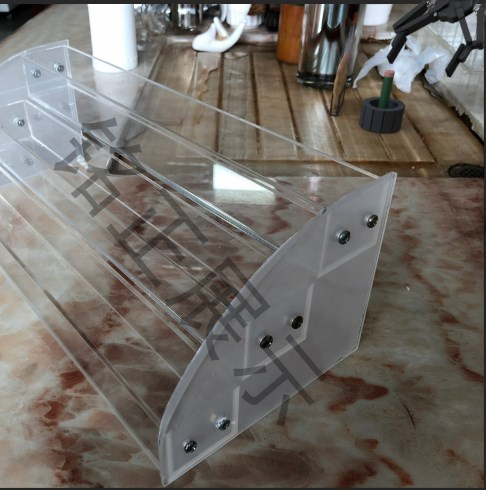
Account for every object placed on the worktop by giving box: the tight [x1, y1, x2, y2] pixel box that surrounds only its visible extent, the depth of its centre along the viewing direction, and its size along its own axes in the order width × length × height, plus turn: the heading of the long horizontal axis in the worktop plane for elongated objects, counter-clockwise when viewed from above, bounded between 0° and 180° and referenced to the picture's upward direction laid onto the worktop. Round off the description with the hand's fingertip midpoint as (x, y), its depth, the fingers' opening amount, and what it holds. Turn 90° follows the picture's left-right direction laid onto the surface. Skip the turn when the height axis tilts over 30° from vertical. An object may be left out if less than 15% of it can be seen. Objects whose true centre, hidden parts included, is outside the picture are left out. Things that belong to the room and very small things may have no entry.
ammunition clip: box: [328, 50, 349, 117], centre depth 136 cm, size 11×2×12 cm, turn 158°
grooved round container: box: [358, 96, 406, 134], centre depth 129 cm, size 9×9×5 cm
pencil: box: [378, 69, 396, 109], centre depth 127 cm, size 2×2×12 cm
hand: (417, 67), depth 129 cm, fingers open, 13 cm apart
